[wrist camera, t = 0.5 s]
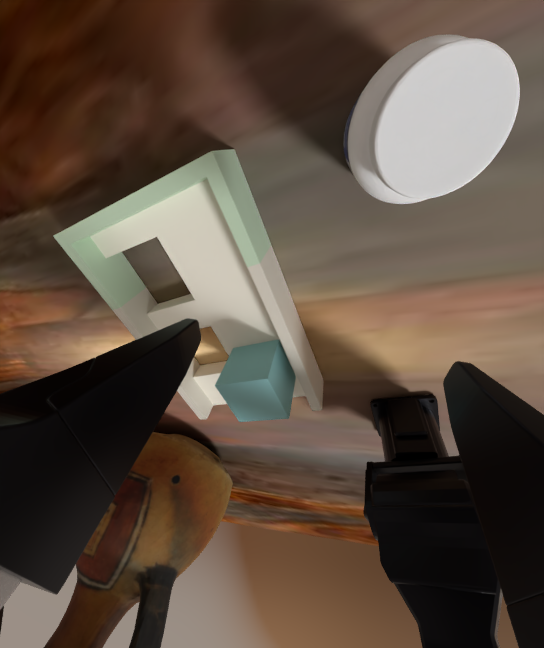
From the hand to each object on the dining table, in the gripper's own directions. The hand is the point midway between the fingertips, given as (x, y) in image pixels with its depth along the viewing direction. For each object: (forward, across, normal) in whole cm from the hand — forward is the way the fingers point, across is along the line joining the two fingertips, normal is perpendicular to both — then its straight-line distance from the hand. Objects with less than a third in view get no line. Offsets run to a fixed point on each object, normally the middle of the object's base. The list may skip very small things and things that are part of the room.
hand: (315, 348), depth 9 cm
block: (+12, +4, +12) cm, 17 cm away
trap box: (+13, +10, +9) cm, 19 cm away
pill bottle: (+14, -3, -7) cm, 15 cm away
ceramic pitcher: (+14, +19, +39) cm, 45 cm away
